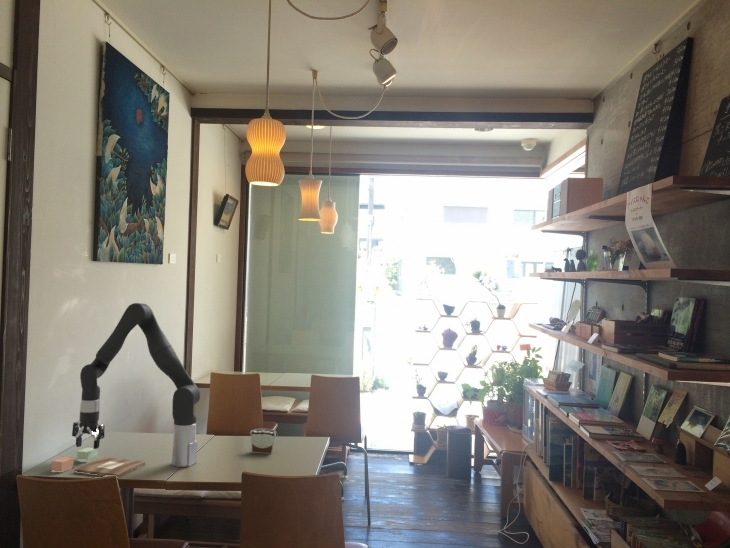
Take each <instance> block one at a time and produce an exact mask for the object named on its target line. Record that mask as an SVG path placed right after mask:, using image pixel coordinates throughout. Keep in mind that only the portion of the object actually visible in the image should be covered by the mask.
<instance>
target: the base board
mask: <svg viewBox="0 0 730 548" xmlns="http://www.w3.org/2000/svg"><path fill="white" fill-rule="evenodd" d="M143 465H144V466H146V461H142V460H133V459H126V458H117V457H108V456H107V457H106V456H103V457H101V458H99V459H98V458H97V459H95V460H93V461H90V462H88V463H86V464H84V465H81V466H79V467H76V468H73V469H74V471H77V472H84V473H90V474H97V475H100V476H99V477H102V476H105V475H116V476H117V477H120V478H122V477H123V475H124V476H126V475H128V474H130V473H132V472H133V471H132V470H134V469H136V470H138V469H139V468H138V467H140V468H142V467H144V466H143ZM141 466H142V467H141ZM137 468H138V469H137ZM131 471H132V472H131ZM134 471H135V470H134ZM129 472H130V473H129ZM127 473H128V474H127ZM125 474H126V475H125ZM121 476H122V477H121Z"/></svg>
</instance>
